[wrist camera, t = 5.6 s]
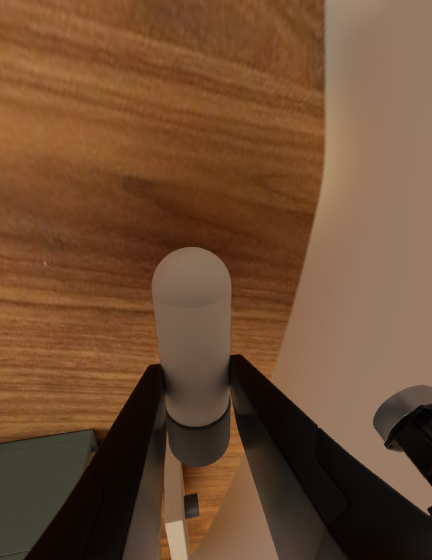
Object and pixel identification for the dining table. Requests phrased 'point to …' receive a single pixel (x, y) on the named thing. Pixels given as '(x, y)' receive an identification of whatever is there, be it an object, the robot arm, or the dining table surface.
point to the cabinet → (37, 485)
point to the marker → (194, 352)
